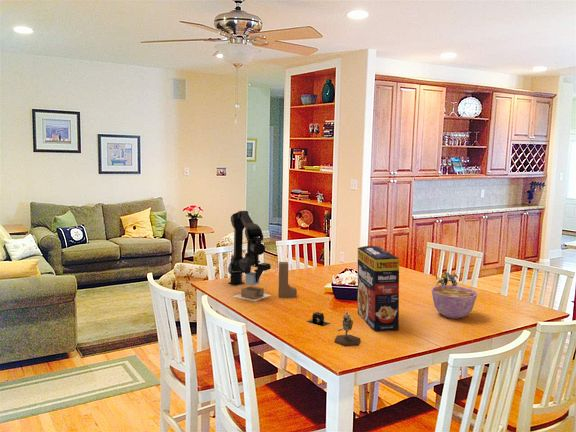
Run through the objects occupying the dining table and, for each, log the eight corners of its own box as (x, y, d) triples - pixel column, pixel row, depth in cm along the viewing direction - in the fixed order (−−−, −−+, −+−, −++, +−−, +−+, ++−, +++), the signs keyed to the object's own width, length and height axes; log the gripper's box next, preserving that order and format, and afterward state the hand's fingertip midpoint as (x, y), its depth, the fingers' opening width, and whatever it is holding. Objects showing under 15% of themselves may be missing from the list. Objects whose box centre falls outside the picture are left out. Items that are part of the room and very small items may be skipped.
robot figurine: (338, 335, 202) (339, 306, 200) (361, 338, 199) (362, 308, 197) (332, 344, 191) (333, 314, 190) (357, 348, 188) (358, 317, 187)
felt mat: (249, 291, 264) (249, 290, 264) (271, 295, 256) (271, 295, 256) (232, 297, 252) (232, 296, 252) (254, 302, 244) (254, 301, 244)
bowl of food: (421, 311, 234) (422, 287, 233) (454, 307, 242) (455, 284, 241) (450, 325, 216) (452, 299, 215) (485, 319, 224) (487, 294, 223)
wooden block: (295, 296, 257) (296, 261, 254) (296, 298, 252) (297, 263, 250) (278, 296, 256) (278, 261, 254) (278, 298, 251) (279, 263, 249)
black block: (334, 324, 215) (334, 314, 215) (324, 329, 210) (324, 318, 209) (311, 318, 223) (311, 308, 223) (301, 322, 218) (301, 312, 217)
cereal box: (356, 312, 232) (356, 244, 228) (379, 311, 233) (380, 243, 229) (374, 333, 206) (374, 257, 201) (400, 331, 207) (401, 255, 203)
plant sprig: (453, 298, 278) (462, 284, 270) (434, 294, 277) (443, 280, 270) (450, 282, 286) (459, 269, 278) (432, 279, 286) (440, 265, 278)
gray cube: (251, 281, 255) (251, 272, 255) (259, 283, 253) (259, 273, 252) (245, 283, 251) (245, 273, 251) (253, 285, 248) (253, 275, 248)
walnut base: (251, 293, 258) (251, 285, 258) (263, 296, 254) (263, 288, 253) (241, 296, 252) (241, 289, 251) (253, 299, 247) (253, 291, 247)
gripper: (228, 251, 249) (227, 281, 250) (257, 256, 238) (257, 287, 240) (242, 247, 258) (242, 277, 260) (271, 252, 247) (271, 283, 249)
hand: (252, 281), depth 252 cm, fingers closed on gray cube, 5 cm apart
